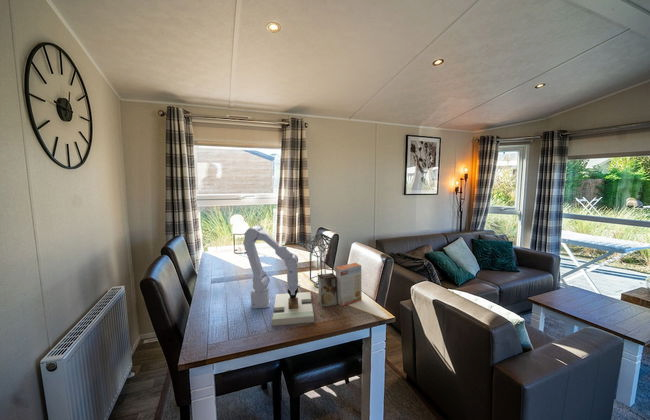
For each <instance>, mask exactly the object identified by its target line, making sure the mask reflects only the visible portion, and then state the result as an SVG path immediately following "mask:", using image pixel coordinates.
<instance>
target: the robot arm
mask: <svg viewBox="0 0 650 420" xmlns="http://www.w3.org/2000/svg"><path fill="white" fill-rule="evenodd" d="M243 239H244V240H243V246H244V250H245V254H246V255H247V259H248V261H249V265H250V268H251V271H252V274H253V275H252V288H253V289H251V291H250V307H251V308H250V309H252V310H253V309H264V308H265V309H266V308H270V306H271V305H270V304H271V299H270V291H269V283H270V280H271V279H270V277H269V276H268V274H267V272H266V271H265V270H264V269H263V267H262V263H261V259H260V256H259V253H258V251H257V247H256V243H257V241H263V242H265V244H267V245H268V246H269V247H271V248H272V249H273V250H274V252H275V255H276V256H277V257H279V258H280V259H281V260H282V261H283V262H284V265H285V267H286V281H287V283H286V288H287V294H288V293H289V295H290V298H296V295H297V293H299V287H301V284H300V283H299V275H298V272H299V271H298V270H299V269H298V263H299V257H298V256H297V254H294V253H293V252H291V251H290V250H289V249H288V247H287V246H286V245H285V246H284V245H280V244H279V243H278V241H276V240H275V239H274V238H273V237H272V236H271V235H270V234H269V233H268V232H267V230H266V229H265V228H263V226H262V225H260V224H256V225H254V226H253V227H250V228H247V229H246V231H245V232H244V238H243Z"/></svg>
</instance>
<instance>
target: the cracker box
mask: <svg viewBox="0 0 650 420" xmlns="http://www.w3.org/2000/svg"><path fill="white" fill-rule="evenodd" d="M335 276H336V281H337V305H339V306H340V307H345V306H348V305H352V304H354V303H357V302H360V301H362V298H363V297H362V265H361V264H359V263H357V262H352V263H348V264H344V265H343V264H342V265H340V266H336V267H335Z"/></svg>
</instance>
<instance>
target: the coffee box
mask: <svg viewBox="0 0 650 420" xmlns="http://www.w3.org/2000/svg"><path fill="white" fill-rule="evenodd" d="M317 281H318V282H317V283H318V285H317V287H318V303H319V305H320V306H321V307H322V308H324V307H328V306H329V307H330V306H335V305H338V303H337V281H336V274H335V273H334V274H333V273H332V272H331V273H326V274H325V273H322V274H321V273H320V274H317Z"/></svg>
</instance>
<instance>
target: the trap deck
mask: <svg viewBox="0 0 650 420" xmlns="http://www.w3.org/2000/svg"><path fill="white" fill-rule="evenodd" d="M289 298H290V295H289V293H288V292H287V293H276V294H275V299H274V306H273V314H272V318H271V326H272V327H274V326H283V325H285V326H286V325H296V324H307V323H315V314H314V310H313V309H314V308H313V303H312V295H311V291H306V292H305V291H304V292H298V293H297V295H296V298H298V308H297V309H289V306H288V299H289Z"/></svg>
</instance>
